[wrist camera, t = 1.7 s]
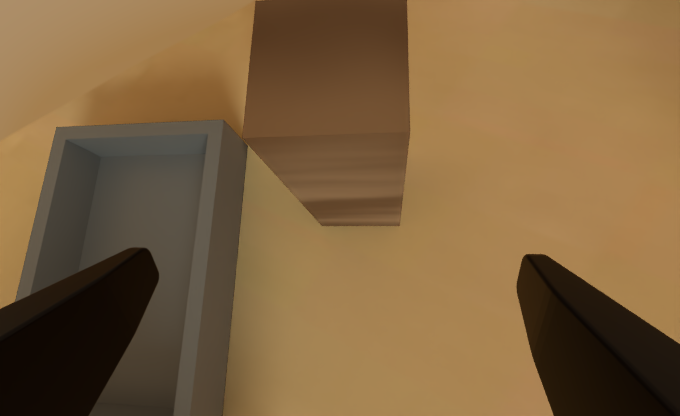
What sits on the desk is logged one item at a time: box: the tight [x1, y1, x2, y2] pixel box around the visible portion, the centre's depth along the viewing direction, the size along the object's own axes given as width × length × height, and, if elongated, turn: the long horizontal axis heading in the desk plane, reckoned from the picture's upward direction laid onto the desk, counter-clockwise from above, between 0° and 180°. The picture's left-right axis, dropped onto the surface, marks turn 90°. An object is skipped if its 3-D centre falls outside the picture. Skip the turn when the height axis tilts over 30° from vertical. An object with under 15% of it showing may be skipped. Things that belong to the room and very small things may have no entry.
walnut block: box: [242, 0, 410, 226], centre depth 16 cm, size 4×4×12 cm
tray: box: [15, 120, 248, 416], centre depth 20 cm, size 16×10×4 cm, turn 179°
